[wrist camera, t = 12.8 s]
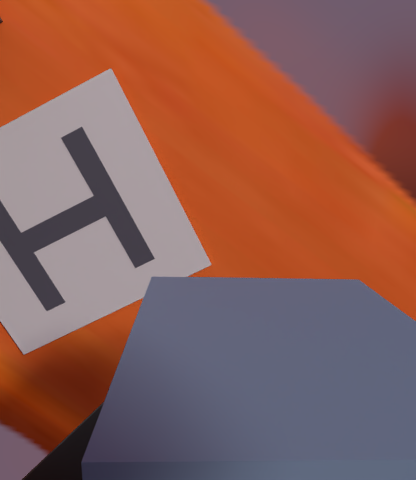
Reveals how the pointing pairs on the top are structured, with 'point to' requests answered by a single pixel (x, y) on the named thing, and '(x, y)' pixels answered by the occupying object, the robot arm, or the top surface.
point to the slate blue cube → (260, 385)
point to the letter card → (84, 215)
